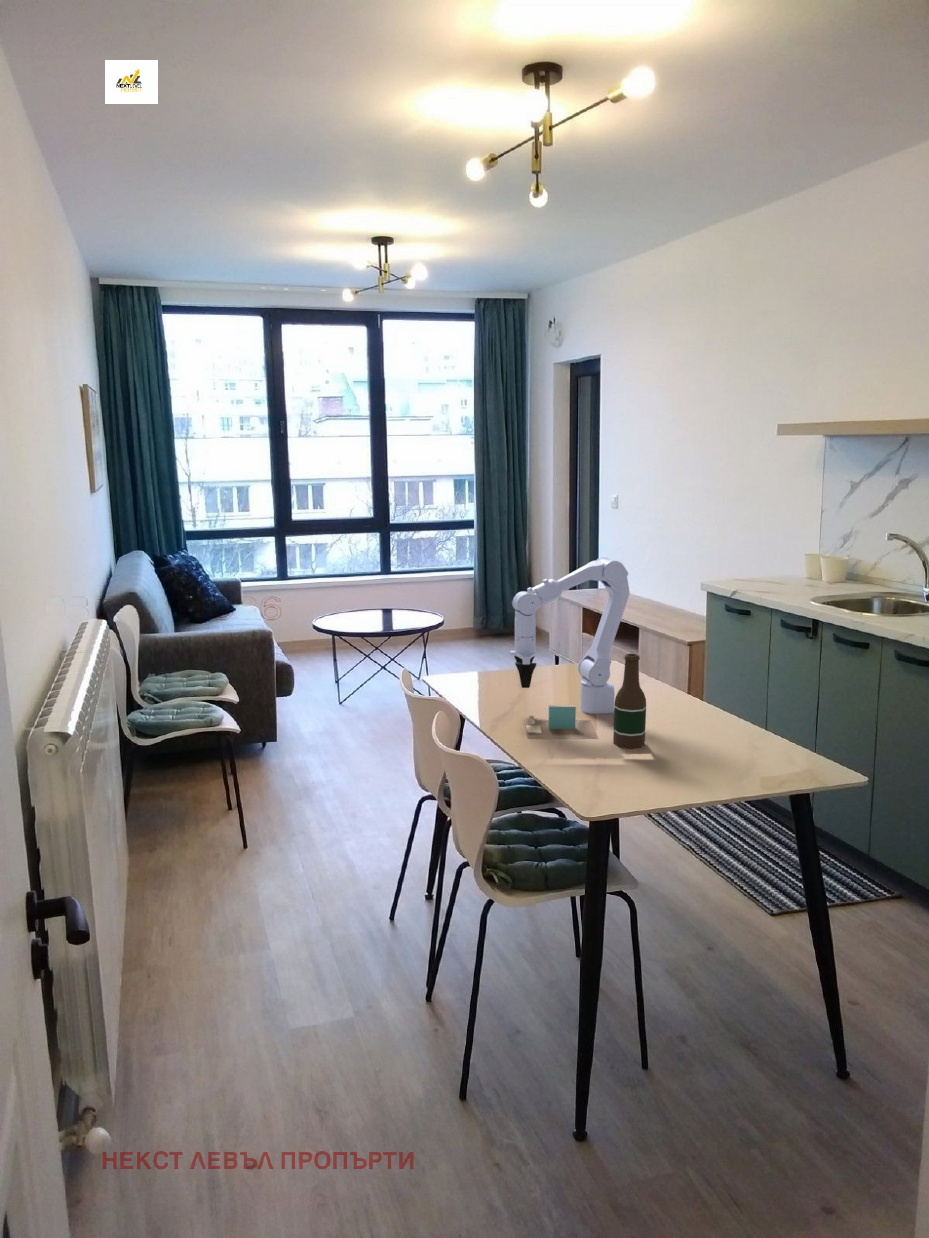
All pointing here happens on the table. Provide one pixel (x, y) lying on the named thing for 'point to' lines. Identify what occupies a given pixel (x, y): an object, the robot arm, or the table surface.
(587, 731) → the board
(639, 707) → the beer bottle
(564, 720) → the tile
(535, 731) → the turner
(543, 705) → the table surface
